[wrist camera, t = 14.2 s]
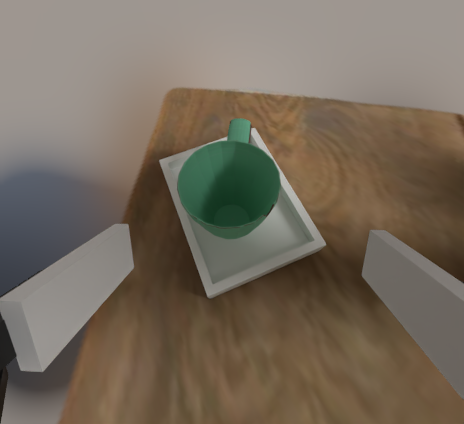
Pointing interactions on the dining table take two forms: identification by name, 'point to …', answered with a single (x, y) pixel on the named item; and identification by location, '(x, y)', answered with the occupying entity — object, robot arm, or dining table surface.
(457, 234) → the dining table surface
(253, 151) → the mug
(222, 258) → the cradle tray
